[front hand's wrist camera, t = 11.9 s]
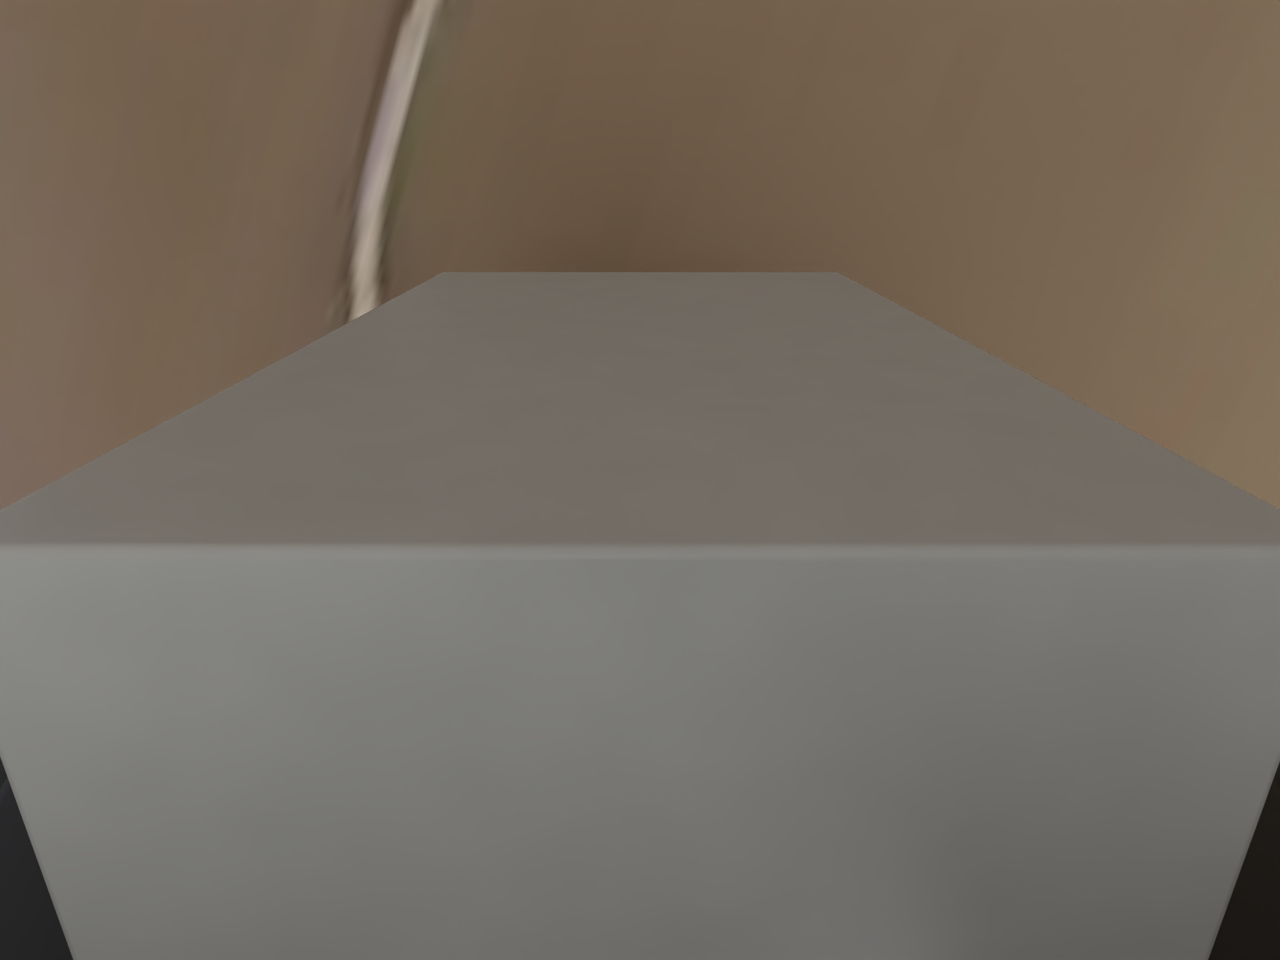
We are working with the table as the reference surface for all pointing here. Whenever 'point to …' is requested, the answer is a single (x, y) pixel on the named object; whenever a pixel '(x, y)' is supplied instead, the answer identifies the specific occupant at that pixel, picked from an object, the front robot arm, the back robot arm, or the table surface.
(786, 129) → the table surface
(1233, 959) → the front robot arm
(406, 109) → the table surface
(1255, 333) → the table surface
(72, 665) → the box
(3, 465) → the table surface
